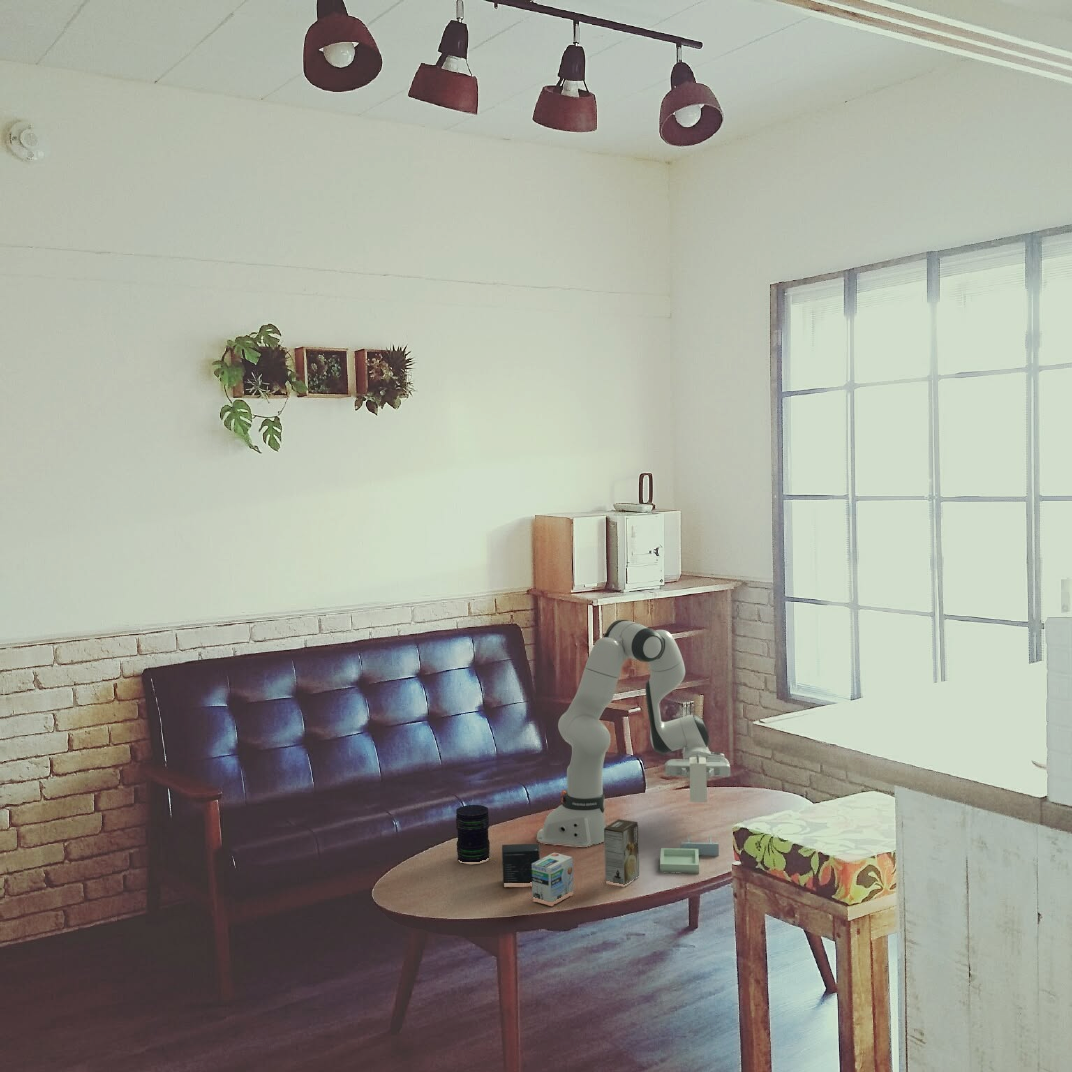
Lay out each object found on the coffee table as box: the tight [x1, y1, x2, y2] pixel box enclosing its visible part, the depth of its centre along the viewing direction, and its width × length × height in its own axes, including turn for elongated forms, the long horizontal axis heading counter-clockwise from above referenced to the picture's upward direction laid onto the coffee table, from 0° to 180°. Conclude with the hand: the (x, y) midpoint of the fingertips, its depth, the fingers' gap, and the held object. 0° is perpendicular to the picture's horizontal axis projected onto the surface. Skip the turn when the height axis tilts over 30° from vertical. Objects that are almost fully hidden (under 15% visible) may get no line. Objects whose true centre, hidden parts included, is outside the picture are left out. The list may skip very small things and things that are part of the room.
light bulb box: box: [531, 852, 574, 902], centre depth 304 cm, size 11×7×11 cm, turn 143°
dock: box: [680, 834, 720, 857], centre depth 338 cm, size 11×8×4 cm
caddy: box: [689, 753, 708, 803], centre depth 348 cm, size 5×7×14 cm
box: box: [501, 842, 541, 884], centre depth 315 cm, size 11×7×10 cm, turn 91°
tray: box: [659, 847, 700, 874], centre depth 327 cm, size 11×13×2 cm
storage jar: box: [455, 804, 491, 862], centre depth 335 cm, size 10×10×15 cm
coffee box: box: [603, 818, 640, 885], centre depth 315 cm, size 9×6×16 cm
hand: (698, 775), depth 347 cm, fingers closed on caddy, 5 cm apart
